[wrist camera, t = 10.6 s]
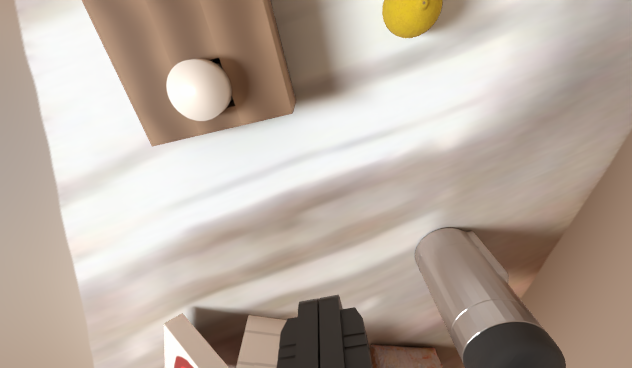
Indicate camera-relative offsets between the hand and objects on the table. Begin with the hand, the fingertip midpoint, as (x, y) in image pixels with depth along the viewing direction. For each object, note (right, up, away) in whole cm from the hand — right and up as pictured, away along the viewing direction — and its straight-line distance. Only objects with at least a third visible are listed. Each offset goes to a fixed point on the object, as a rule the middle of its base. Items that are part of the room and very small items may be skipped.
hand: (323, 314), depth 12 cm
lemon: (+9, +25, +23) cm, 35 cm away
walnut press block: (-13, +23, +23) cm, 35 cm away
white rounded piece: (-12, +17, +25) cm, 32 cm away
